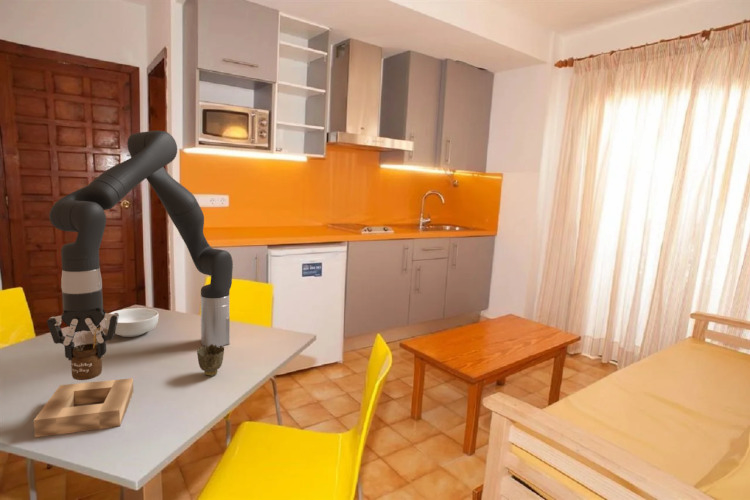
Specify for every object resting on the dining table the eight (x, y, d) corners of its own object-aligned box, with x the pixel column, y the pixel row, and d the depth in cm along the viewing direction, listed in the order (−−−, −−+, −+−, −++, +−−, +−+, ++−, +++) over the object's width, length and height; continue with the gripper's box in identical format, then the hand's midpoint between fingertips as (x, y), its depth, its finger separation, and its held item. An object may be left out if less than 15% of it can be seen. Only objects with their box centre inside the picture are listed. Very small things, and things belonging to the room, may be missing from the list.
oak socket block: (133, 392, 110) (133, 378, 109) (120, 426, 95) (119, 410, 95) (61, 400, 104) (60, 385, 104) (34, 437, 90) (33, 420, 89)
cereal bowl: (142, 343, 141) (141, 323, 140) (93, 340, 141) (92, 320, 140) (167, 326, 158) (167, 308, 157) (124, 324, 158) (123, 306, 157)
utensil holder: (84, 368, 101) (81, 321, 99) (109, 370, 101) (107, 323, 99) (65, 380, 96) (62, 330, 94) (92, 382, 95) (89, 332, 94)
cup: (229, 372, 124) (229, 346, 123) (212, 382, 118) (212, 355, 116) (209, 367, 127) (209, 342, 126) (191, 377, 120) (191, 351, 119)
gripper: (121, 283, 101) (124, 349, 104) (50, 284, 96) (55, 354, 99) (114, 291, 94) (117, 361, 97) (37, 293, 89) (43, 367, 92)
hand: (86, 357), depth 98 cm, fingers closed on utensil holder, 5 cm apart
